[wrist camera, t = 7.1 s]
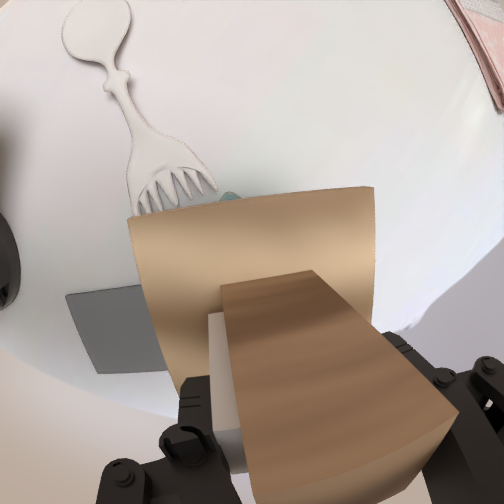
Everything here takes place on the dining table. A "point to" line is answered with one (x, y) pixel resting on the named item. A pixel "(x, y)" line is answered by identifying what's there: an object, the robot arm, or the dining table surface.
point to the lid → (293, 340)
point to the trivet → (117, 330)
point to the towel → (484, 39)
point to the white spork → (131, 106)
